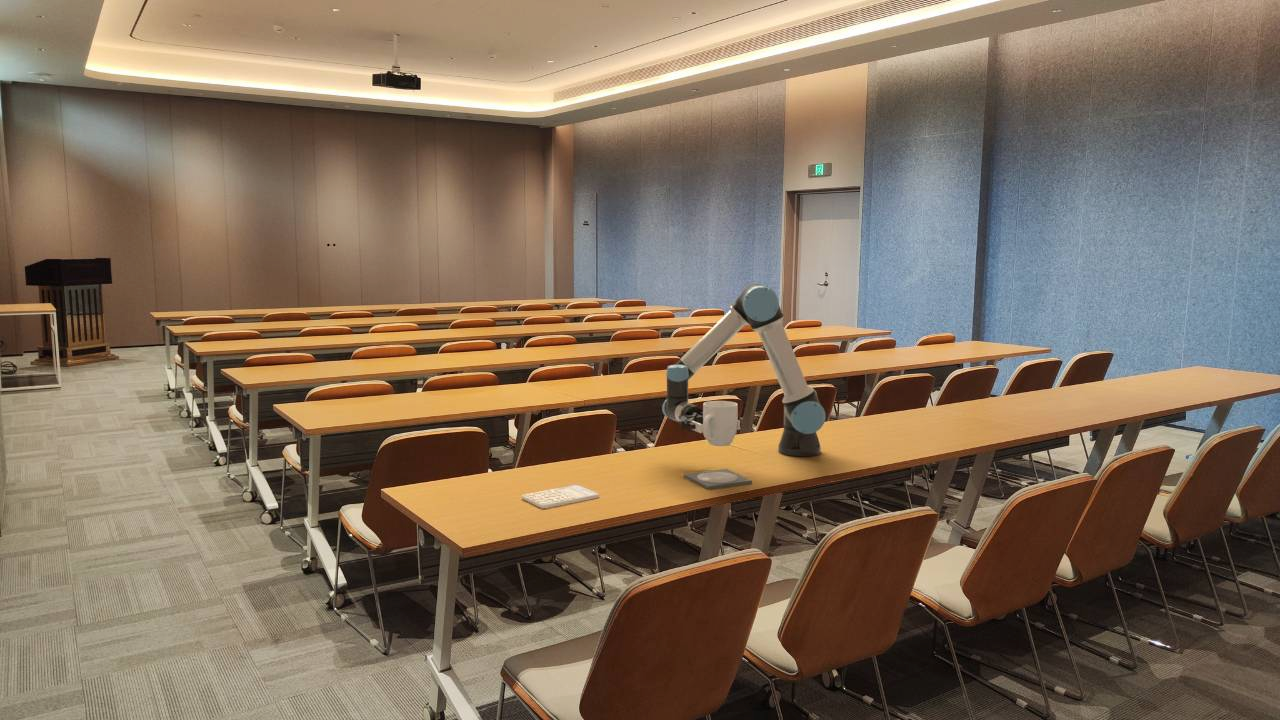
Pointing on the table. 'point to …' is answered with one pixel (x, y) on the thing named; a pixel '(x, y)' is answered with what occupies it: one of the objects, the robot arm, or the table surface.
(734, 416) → the mug
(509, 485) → the table surface
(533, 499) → the calculator
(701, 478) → the kitchen scale
